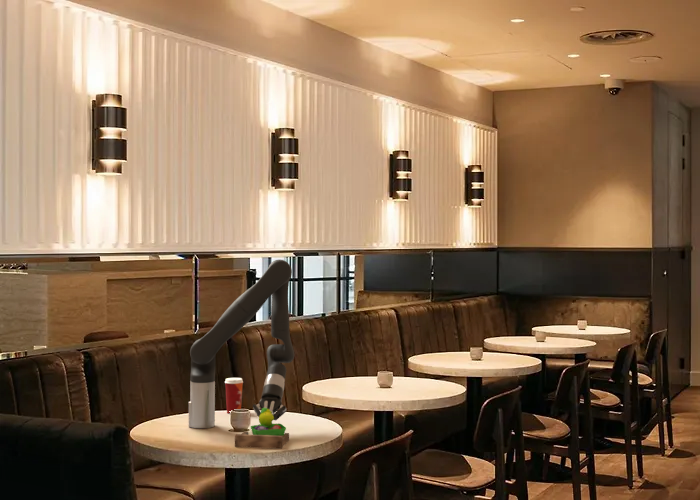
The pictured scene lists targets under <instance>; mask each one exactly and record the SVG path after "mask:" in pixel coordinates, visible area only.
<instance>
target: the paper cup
mask: <svg viewBox="0 0 700 500" xmlns="http://www.w3.org/2000/svg"><path fill="white" fill-rule="evenodd" d="M243 383H244V381H243V378H242V377H228V378H225V381H224V384H225V401H226V404H225V405H226V413H227V414H228V415H230V414H229V413H230V412H229V411H231V410H234V409H241V410H242V402H243V401H242V398H243Z"/></svg>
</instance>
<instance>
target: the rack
mask: <svg viewBox="0 0 700 500" xmlns="http://www.w3.org/2000/svg"><path fill="white" fill-rule="evenodd" d="M289 441H290V432H285V433H284V435H283V436H276V435H253V434H250V433H249V431H246V430H245V431H243V432H242V433H241V434H240V433H235V434H234V447H236V448H259V449H260V448H261V449H283V447H284V446H285V445H286V444H287V443H288V442H289Z"/></svg>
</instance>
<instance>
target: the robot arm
mask: <svg viewBox="0 0 700 500" xmlns="http://www.w3.org/2000/svg"><path fill="white" fill-rule="evenodd" d="M292 270H293V269H292V267H291V265H290V263H288V262H287V260H284V259H276V260H273V261H272V262H271V263H270V264H269V265H268V268H267V269H266V270H265V271H264V273H263V274H262V275H261V277H260V278H259V279H258V280H257V281H256V282H255V284H253V285H251V287H250V288H248V289H247V290H245V291H244V292H243V293H242V294H241V295H239V296H238V297H237V298H236V299H235V300H234V301H233V302H232V303H231V304H230V305H229V306H228V308H227V309H226V310H225V311H224V312H223V313H222V314H221V315H220V317H219V319H218V320H217V321H216V323H215V324H214V325H213V327H211V329H210V330H209V331H208V332H207V333H206V334H204V336H202V337H201V338H199V339H196V340H195V341H194V342H193V344H192V345H191V346H190V350H189V354H190V358H191V359H190V378H189V380H190V381H189V382H190V385H189V387H190V388H189V389H190V390H189V391H190V393H189V394H190V401H188V427H189V428H195V429H208V428H213V427H215V423H216V422H215V421H216V419H215V418H216V417H215V415H216V407H215V405H216V397H215V396H216V395H215V394H216V389H215V388H216V386H215V385H216V382H215V381H216V354H217V353H218V351H220V349H221V348H222V347H223V345H225V344H226V342H227V341H228V340H229V339H231V338H232V337H233V336H235V335H236V334H237V333H238V332H240V330H242V328H244V327H245V326H246V325H247V324H248V323H249V321H251V320H252V319H253V317H255V315H256V314H257V313H258V312H259V311H260V309H261V308H262V307H263V306H264V305H265V303H266V302H267V300H268V299H269V298H270V297H271V311H270V312H271V313H270V334H271V335H270V336H271V337H272V338H273V339H278V340H281V342H283V344H280V343H279V344H277V343H275V344H271V345H269V346H268V347H267V348H266V358H267V372H266V377H265V380H264V383H263V384H264V385H263V387H262V393H261V398H260V400H259V401H258V403H257V404H254V403H253V404H252V407H253V411H254V413H255V414H256V415H257V417H258V418H259V416H260V414H261V410H262V408H267V409H269V410H270V411H271V413H272V414H273V416H274V420H273V421H277V420H279V418H280V417H282V416H283V415H284V414H285V413H286V412H287V411H288V410H287V407H286V405H283V402H282V399H283V395H284V392H285V391H284V390H285V381H286V375H287V367H286V365H284V364H290V363H292V362H293V361H294V359H295V349H294V346H293V343H292V339H291V334H290V309H289V307H290V306H289V287H290V286H289V284H290V280H291V278H292V274H293V272H292Z"/></svg>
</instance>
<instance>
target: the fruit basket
mask: <svg viewBox="0 0 700 500" xmlns="http://www.w3.org/2000/svg"><path fill="white" fill-rule="evenodd" d="M260 412H261V414H260V416H259V417H258V422H259V424H256V425H250V430H251V433H252V435H276V436H283V435H284V434H285V433H286V430H287V427H286V426H284V425H283V424H282V423H273V421H275V420H274V416H273V414H272V413H271V411H270V410H269V409H267V408H262V409H260Z"/></svg>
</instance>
